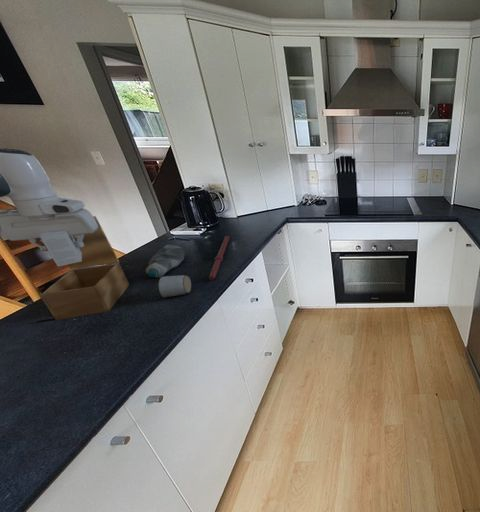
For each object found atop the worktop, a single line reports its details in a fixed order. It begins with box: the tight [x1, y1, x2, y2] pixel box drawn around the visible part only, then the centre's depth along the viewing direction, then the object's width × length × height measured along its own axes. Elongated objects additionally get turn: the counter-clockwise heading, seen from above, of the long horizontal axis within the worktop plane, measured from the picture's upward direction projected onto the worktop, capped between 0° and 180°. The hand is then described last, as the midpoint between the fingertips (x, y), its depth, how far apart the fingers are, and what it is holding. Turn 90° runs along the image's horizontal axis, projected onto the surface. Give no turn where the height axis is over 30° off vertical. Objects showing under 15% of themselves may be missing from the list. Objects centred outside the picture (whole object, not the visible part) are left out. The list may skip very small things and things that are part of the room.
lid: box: [68, 215, 120, 270], centre depth 98 cm, size 18×14×5 cm
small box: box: [40, 231, 82, 268], centre depth 87 cm, size 8×6×10 cm
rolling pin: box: [208, 235, 231, 281], centre depth 129 cm, size 45×3×3 cm, turn 20°
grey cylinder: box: [158, 274, 192, 298], centre depth 102 cm, size 11×8×8 cm
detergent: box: [144, 243, 187, 279], centre depth 118 cm, size 13×7×25 cm
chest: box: [39, 262, 130, 321], centre depth 96 cm, size 18×14×10 cm
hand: (64, 248), depth 87 cm, fingers closed on small box, 7 cm apart
